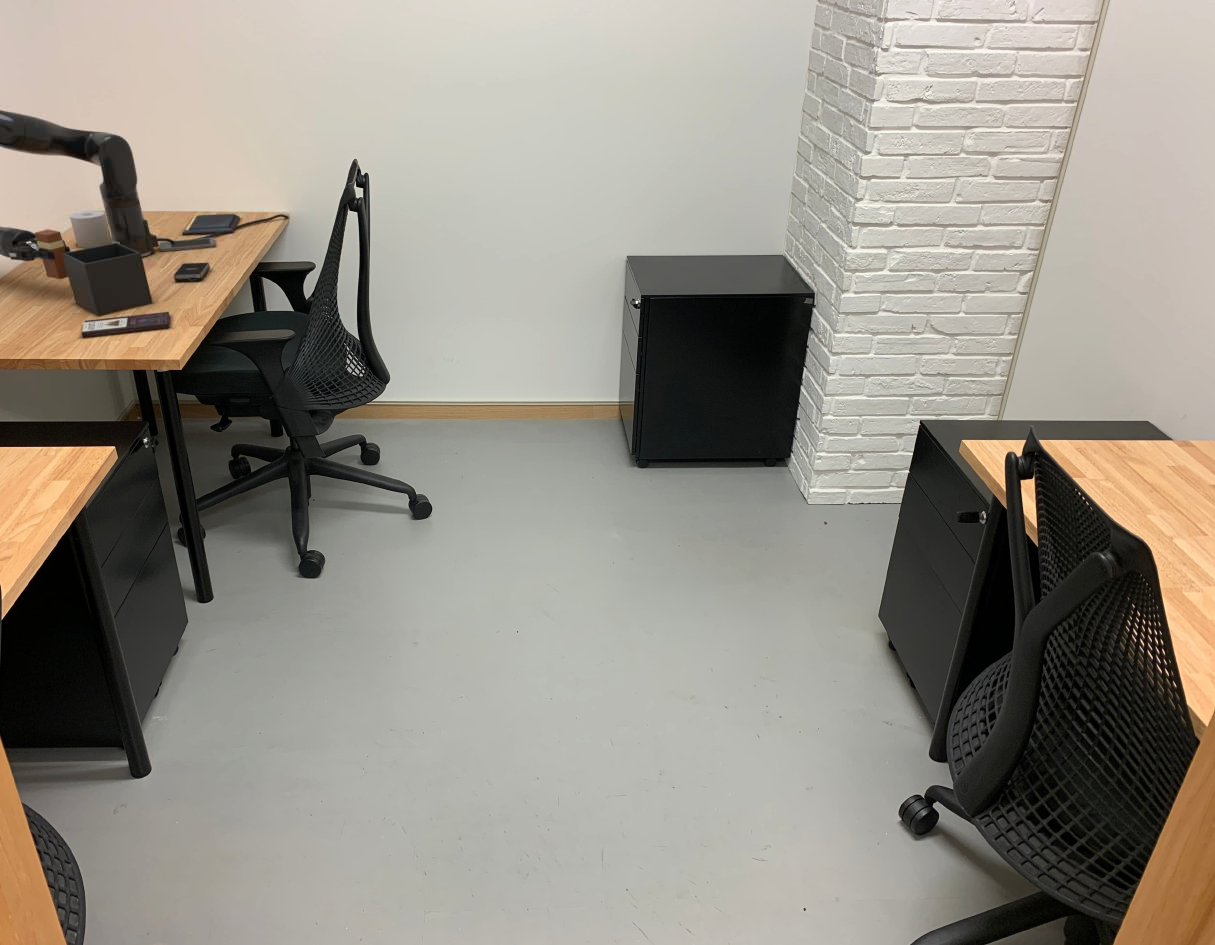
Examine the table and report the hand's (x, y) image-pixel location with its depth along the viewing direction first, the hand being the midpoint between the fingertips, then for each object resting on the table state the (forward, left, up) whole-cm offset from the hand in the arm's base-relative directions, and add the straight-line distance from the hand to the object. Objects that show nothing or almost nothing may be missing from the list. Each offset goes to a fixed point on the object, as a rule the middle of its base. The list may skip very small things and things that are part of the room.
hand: (60, 253), depth 226 cm
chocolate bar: (-1, +29, -12) cm, 32 cm away
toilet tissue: (-26, -49, -12) cm, 56 cm away
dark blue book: (-59, -42, -12) cm, 73 cm away
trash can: (-6, +10, -12) cm, 17 cm away
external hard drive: (-30, +3, -12) cm, 32 cm away
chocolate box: (+1, -3, -6) cm, 7 cm away
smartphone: (-43, -26, -12) cm, 51 cm away
